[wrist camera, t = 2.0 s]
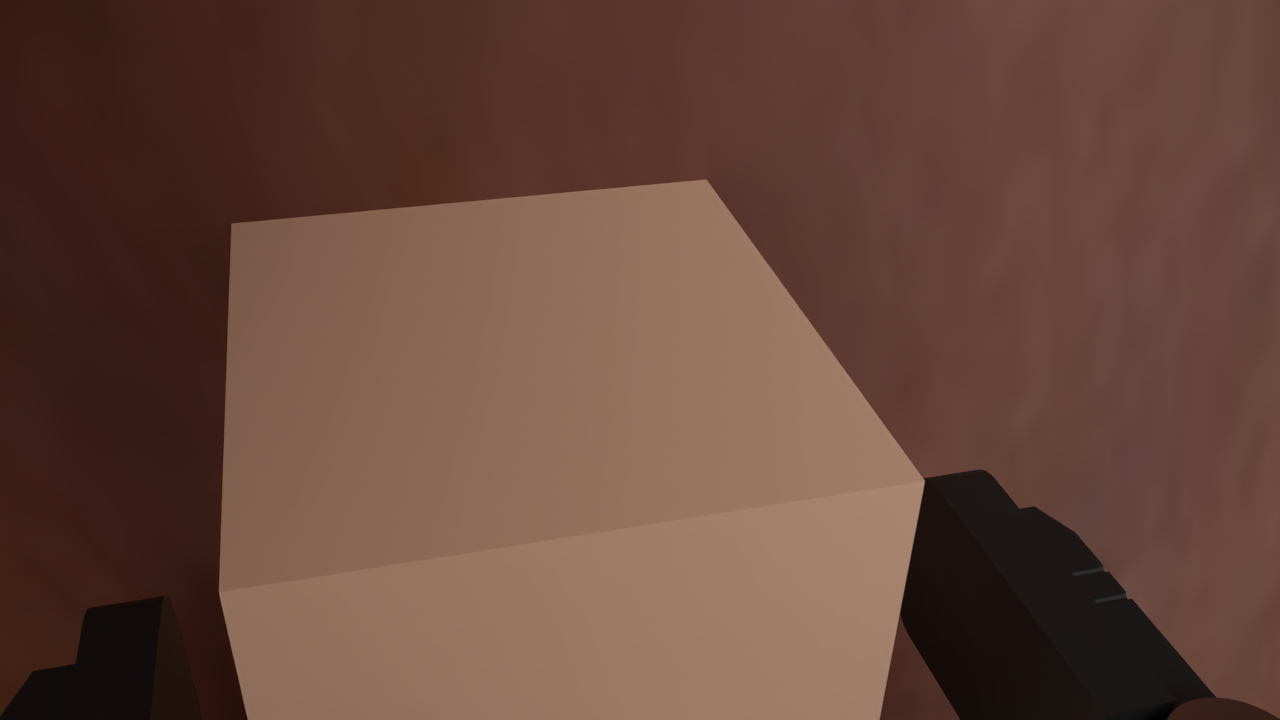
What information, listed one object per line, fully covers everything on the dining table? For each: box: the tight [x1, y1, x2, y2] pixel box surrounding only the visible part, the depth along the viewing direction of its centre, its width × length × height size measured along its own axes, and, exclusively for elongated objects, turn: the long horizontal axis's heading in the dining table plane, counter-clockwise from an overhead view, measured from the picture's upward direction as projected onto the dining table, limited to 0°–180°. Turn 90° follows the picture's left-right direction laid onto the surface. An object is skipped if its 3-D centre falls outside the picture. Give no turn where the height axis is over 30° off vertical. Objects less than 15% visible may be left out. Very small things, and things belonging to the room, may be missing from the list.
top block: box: [219, 180, 925, 720], centre depth 13 cm, size 6×6×6 cm
